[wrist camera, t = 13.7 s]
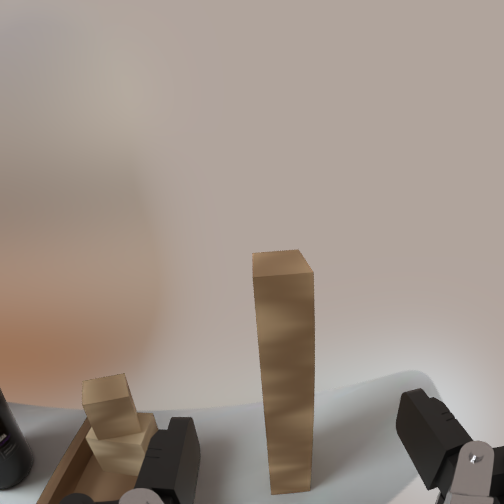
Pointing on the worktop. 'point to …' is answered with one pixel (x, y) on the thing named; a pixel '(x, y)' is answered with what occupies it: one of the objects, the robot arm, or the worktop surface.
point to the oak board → (286, 364)
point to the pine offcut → (124, 448)
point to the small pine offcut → (110, 407)
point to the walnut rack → (84, 475)
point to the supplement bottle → (12, 449)
